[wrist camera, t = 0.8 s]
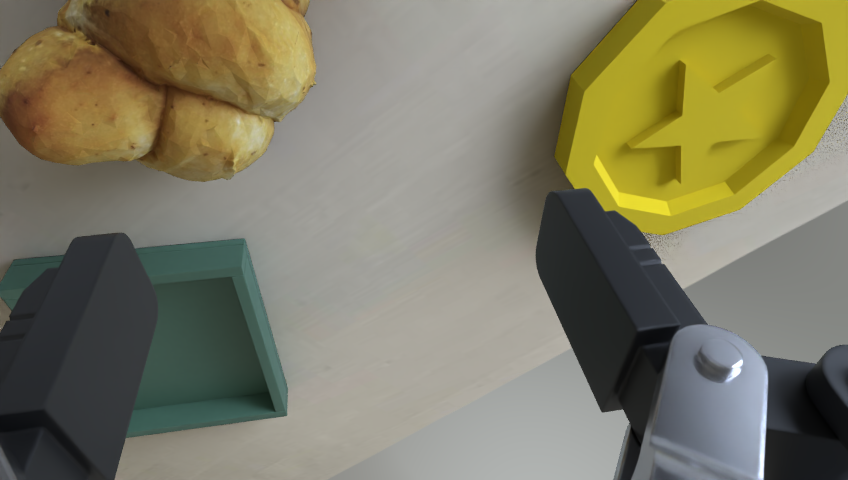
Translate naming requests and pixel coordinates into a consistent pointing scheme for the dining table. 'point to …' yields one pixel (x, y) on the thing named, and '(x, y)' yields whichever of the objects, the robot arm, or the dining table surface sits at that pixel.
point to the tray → (196, 338)
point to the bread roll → (160, 83)
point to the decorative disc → (702, 105)
